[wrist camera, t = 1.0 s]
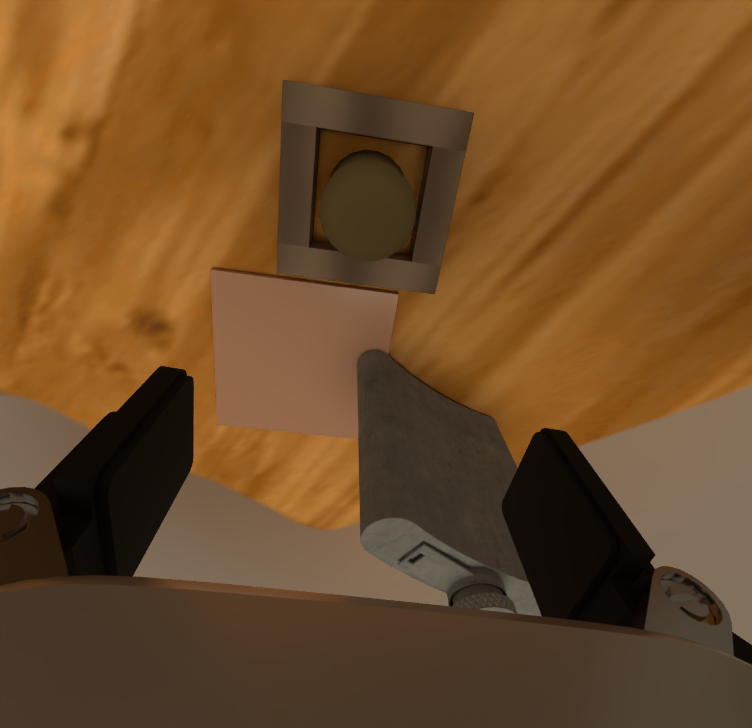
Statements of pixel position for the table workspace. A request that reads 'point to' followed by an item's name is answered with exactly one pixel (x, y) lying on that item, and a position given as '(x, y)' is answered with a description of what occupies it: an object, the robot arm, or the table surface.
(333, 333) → the terracotta tile
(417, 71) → the table surface
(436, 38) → the table surface
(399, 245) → the olive pawn shape
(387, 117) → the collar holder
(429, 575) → the hip flask
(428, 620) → the robot arm
